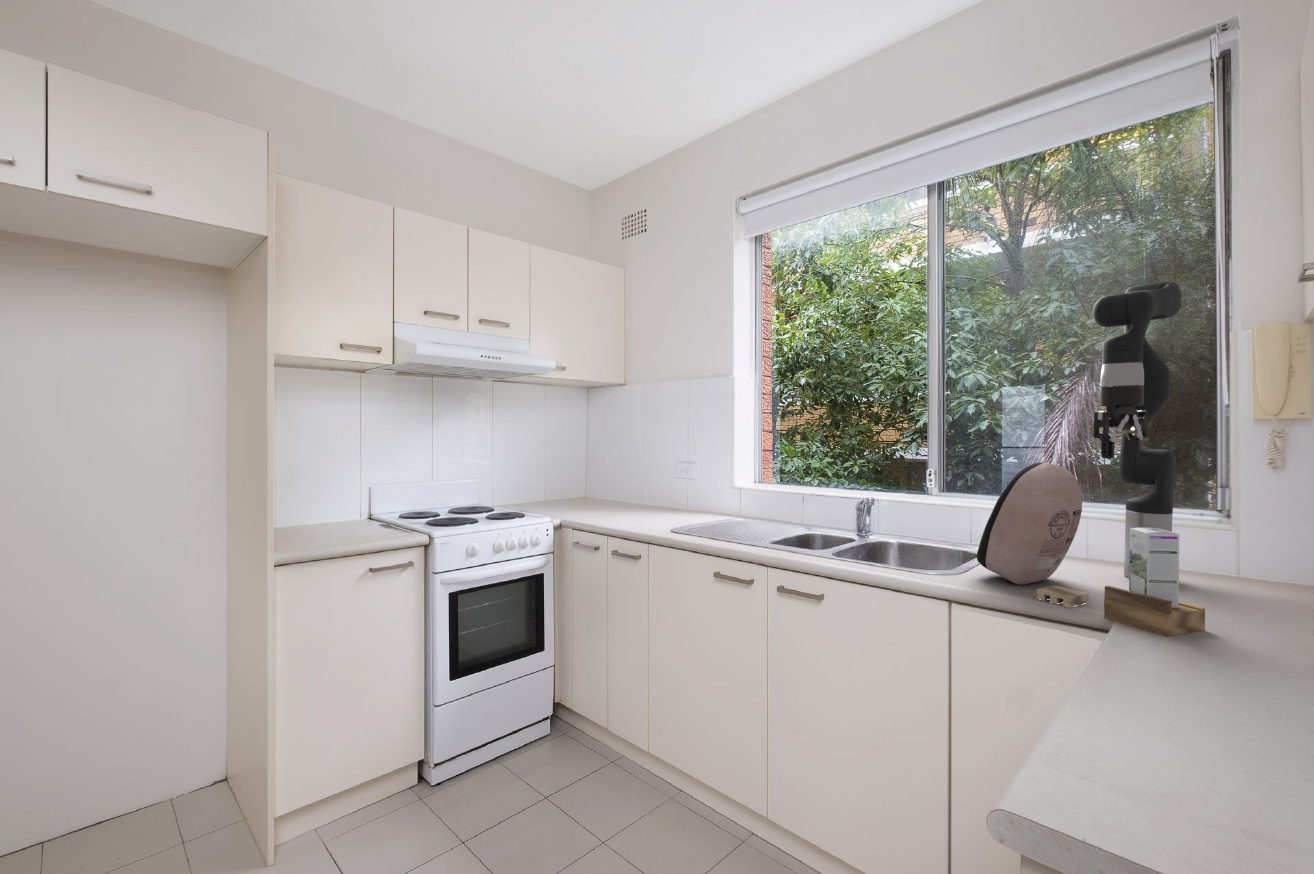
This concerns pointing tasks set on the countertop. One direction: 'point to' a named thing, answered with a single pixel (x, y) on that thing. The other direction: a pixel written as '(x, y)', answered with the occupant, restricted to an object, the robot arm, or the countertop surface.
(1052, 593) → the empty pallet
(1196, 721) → the countertop surface
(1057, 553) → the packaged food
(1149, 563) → the syrup box
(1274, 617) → the countertop surface
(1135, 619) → the dock
